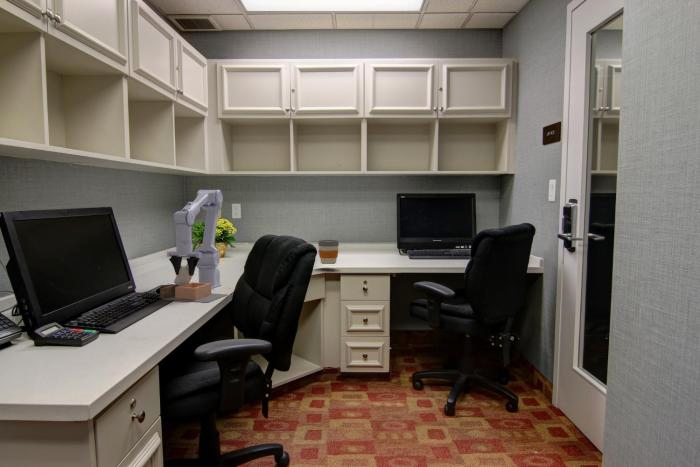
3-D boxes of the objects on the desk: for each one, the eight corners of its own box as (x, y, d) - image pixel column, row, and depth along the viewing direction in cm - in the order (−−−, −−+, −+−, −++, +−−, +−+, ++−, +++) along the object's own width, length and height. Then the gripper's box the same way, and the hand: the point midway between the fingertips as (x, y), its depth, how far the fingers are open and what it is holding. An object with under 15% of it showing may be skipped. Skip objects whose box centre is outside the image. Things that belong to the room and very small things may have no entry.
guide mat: (177, 291, 172) (177, 291, 172) (228, 294, 167) (228, 294, 167) (153, 299, 159) (153, 298, 159) (208, 302, 153) (208, 302, 153)
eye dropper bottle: (178, 279, 169) (190, 255, 166) (189, 286, 168) (201, 262, 165) (171, 281, 165) (183, 257, 162) (182, 289, 164) (194, 264, 161)
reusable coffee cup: (332, 263, 257) (332, 239, 256) (342, 265, 246) (342, 241, 245) (314, 264, 250) (314, 240, 249) (324, 267, 240) (324, 242, 239)
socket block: (192, 292, 169) (191, 282, 168) (211, 294, 166) (211, 283, 166) (175, 298, 158) (175, 287, 158) (195, 299, 156) (195, 288, 156)
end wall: (181, 291, 171) (181, 282, 171) (185, 292, 171) (185, 282, 171) (160, 298, 159) (160, 288, 158) (164, 298, 158) (164, 288, 158)
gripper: (161, 241, 160) (162, 275, 161) (193, 242, 156) (194, 277, 157) (173, 240, 167) (174, 273, 167) (204, 241, 163) (205, 274, 164)
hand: (184, 275), depth 163 cm, fingers closed on eye dropper bottle, 5 cm apart
